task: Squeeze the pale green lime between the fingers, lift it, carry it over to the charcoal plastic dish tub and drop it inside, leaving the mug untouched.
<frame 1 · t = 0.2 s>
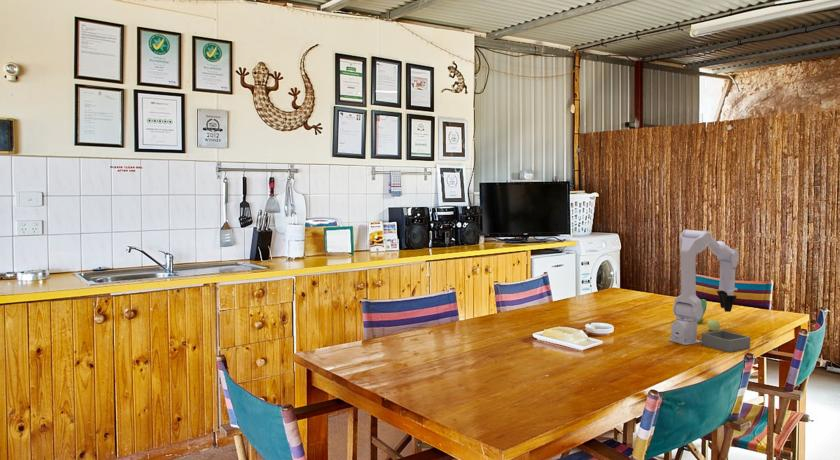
hand: (725, 309, 263), 10 cm above the table, fingers open, 7 cm apart
tub: (725, 346, 241), on the table
mug: (696, 322, 283), on the table
lime: (713, 330, 266), on the table
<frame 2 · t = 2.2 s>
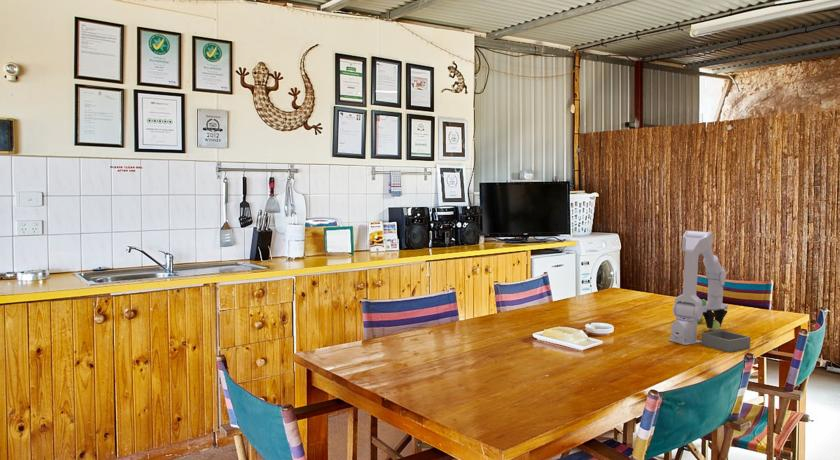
hand: (713, 327, 266), 2 cm above the table, fingers closed on lime, 5 cm apart
lime: (713, 330, 266), on the table, touching gripper
everything else where it was.
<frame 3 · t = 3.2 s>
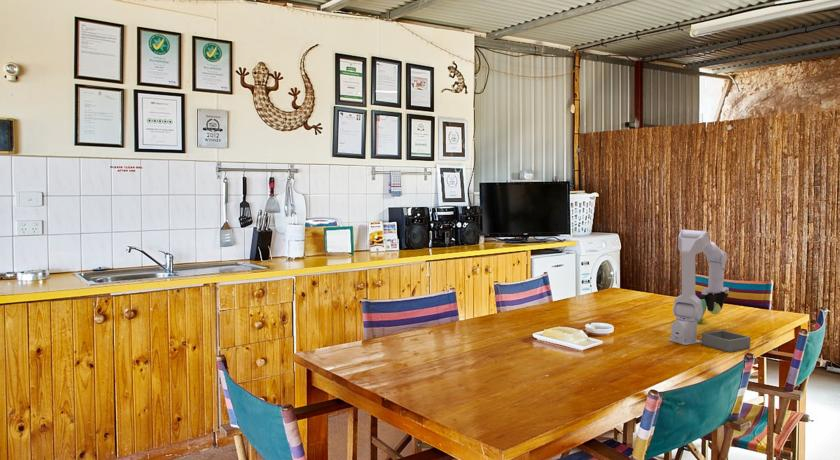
hand: (714, 310, 266), 9 cm above the table, fingers closed on lime, 5 cm apart
lime: (714, 314, 266), point 7 cm above the table, touching gripper
everything else where it was.
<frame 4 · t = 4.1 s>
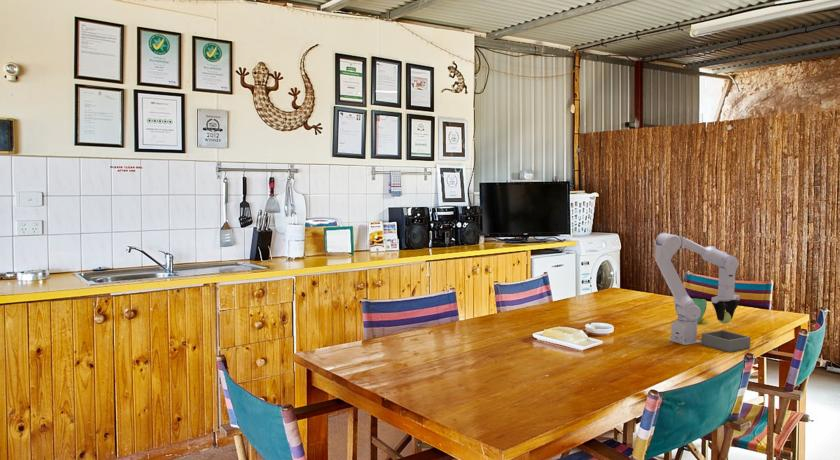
hand: (724, 319, 248), 9 cm above the table, fingers closed on lime, 5 cm apart
lime: (724, 323, 249), point 7 cm above the table, touching gripper
everything else where it was.
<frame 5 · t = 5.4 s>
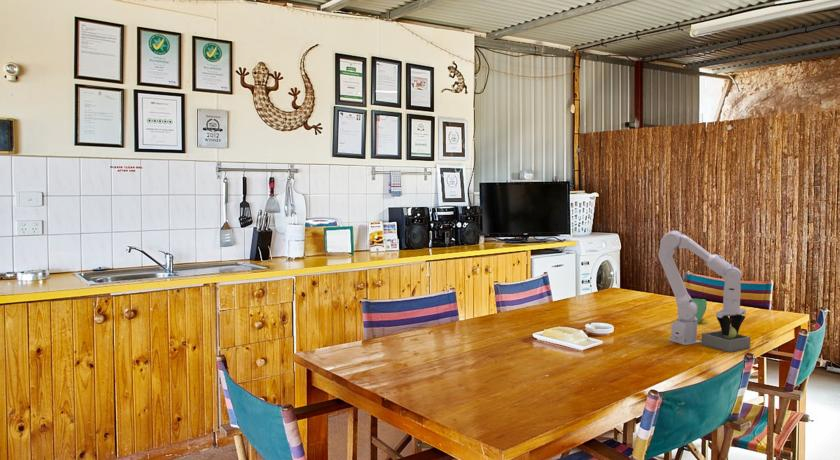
hand: (730, 334, 240), 5 cm above the table, fingers closed on lime, 5 cm apart
lime: (729, 338, 241), point 3 cm above the table, touching gripper
everything else where it was.
when the fingers open (5 cm above the table, at t = 6.3 s): lime drops 3 cm, resting on tub.
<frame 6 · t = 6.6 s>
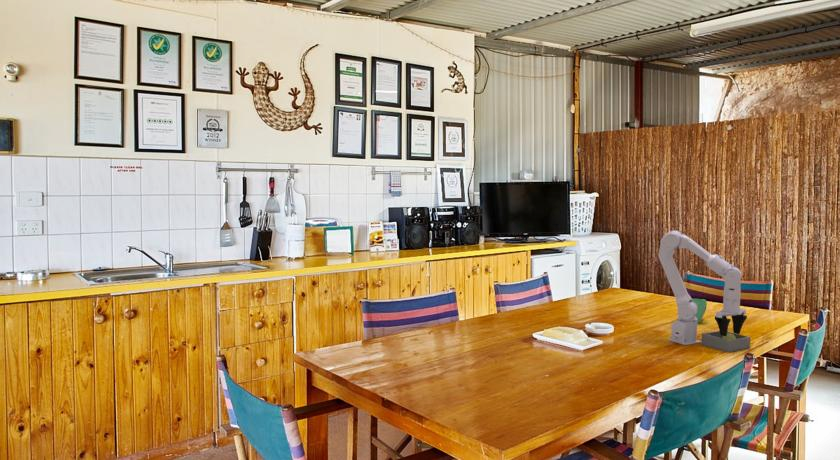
hand: (730, 334, 240), 5 cm above the table, fingers open, 7 cm apart
lime: (729, 345, 241), point 1 cm above the table, touching tub
everything else where it was.
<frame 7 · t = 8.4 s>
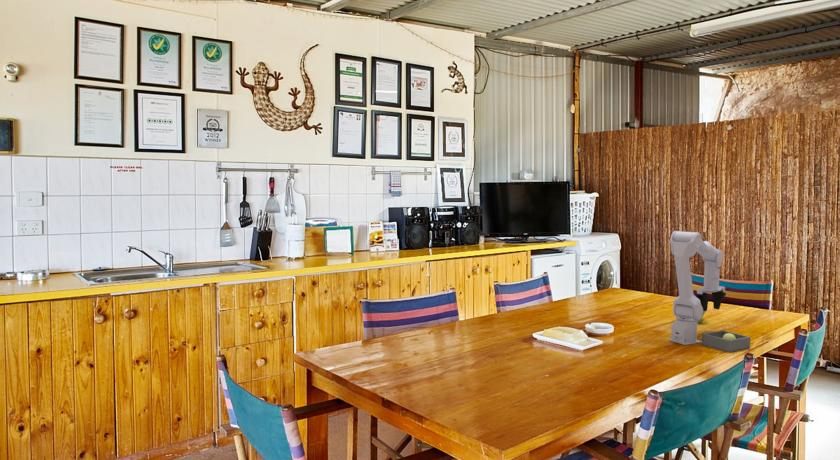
hand: (710, 309, 261), 10 cm above the table, fingers open, 7 cm apart
nothing on the table moved.
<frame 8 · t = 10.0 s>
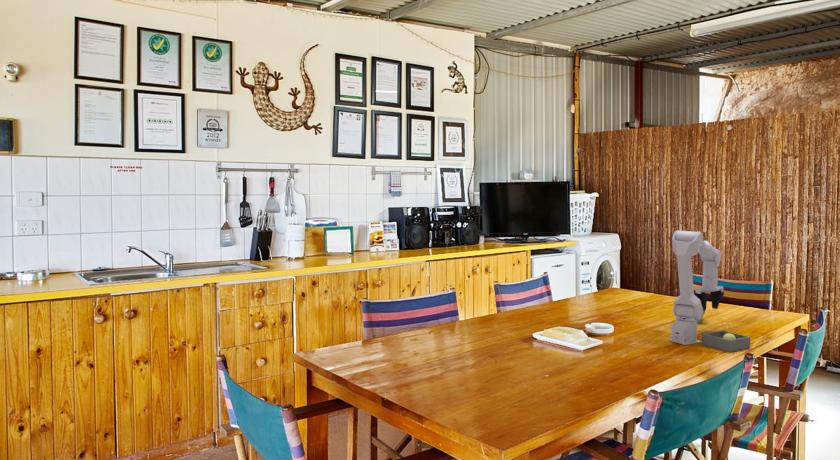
hand: (708, 309, 262), 10 cm above the table, fingers open, 7 cm apart
nothing on the table moved.
at the end: lime inside the target area on the tub (1.4 cm from its centre), point 0.5 cm above the tub's base; the gripper is holding nothing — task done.
